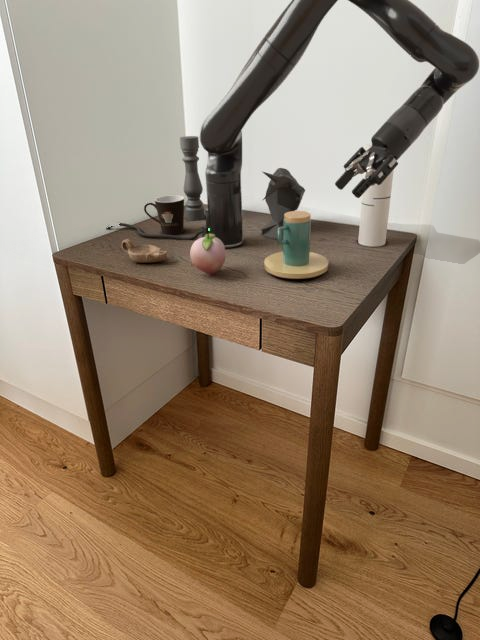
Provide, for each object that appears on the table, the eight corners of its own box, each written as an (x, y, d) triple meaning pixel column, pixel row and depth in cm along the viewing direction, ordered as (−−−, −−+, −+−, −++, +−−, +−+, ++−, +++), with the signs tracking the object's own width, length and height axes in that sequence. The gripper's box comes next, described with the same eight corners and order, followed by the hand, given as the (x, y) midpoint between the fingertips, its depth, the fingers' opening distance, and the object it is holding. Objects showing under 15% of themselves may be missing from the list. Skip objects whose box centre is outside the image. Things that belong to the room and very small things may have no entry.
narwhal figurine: (316, 228, 137) (319, 165, 129) (283, 240, 128) (284, 174, 119) (279, 219, 146) (280, 161, 138) (246, 231, 137) (245, 168, 128)
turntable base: (260, 272, 108) (260, 268, 108) (289, 258, 116) (290, 254, 116) (302, 284, 101) (302, 280, 101) (331, 268, 109) (331, 264, 108)
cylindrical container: (386, 247, 121) (397, 146, 109) (358, 246, 122) (366, 147, 110) (384, 238, 127) (395, 142, 115) (358, 237, 128) (366, 143, 116)
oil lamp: (173, 259, 118) (171, 240, 115) (155, 269, 112) (153, 250, 110) (134, 252, 123) (131, 234, 121) (115, 261, 118) (112, 242, 115)
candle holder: (186, 215, 154) (179, 136, 142) (204, 214, 155) (199, 135, 143) (185, 221, 149) (178, 139, 137) (204, 219, 149) (199, 138, 137)
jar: (294, 250, 117) (296, 202, 111) (341, 266, 107) (345, 213, 101) (251, 266, 109) (249, 214, 103) (297, 284, 99) (298, 228, 93)
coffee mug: (192, 229, 140) (190, 197, 135) (174, 237, 133) (171, 203, 129) (163, 225, 145) (160, 193, 141) (145, 232, 139) (140, 199, 134)
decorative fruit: (192, 267, 112) (188, 228, 107) (225, 265, 113) (223, 226, 108) (191, 283, 104) (187, 240, 99) (227, 280, 104) (225, 238, 100)
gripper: (372, 118, 104) (322, 174, 107) (407, 123, 92) (350, 186, 95) (390, 141, 107) (341, 195, 110) (426, 149, 95) (371, 209, 98)
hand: (345, 191), depth 103 cm, fingers open, 8 cm apart
